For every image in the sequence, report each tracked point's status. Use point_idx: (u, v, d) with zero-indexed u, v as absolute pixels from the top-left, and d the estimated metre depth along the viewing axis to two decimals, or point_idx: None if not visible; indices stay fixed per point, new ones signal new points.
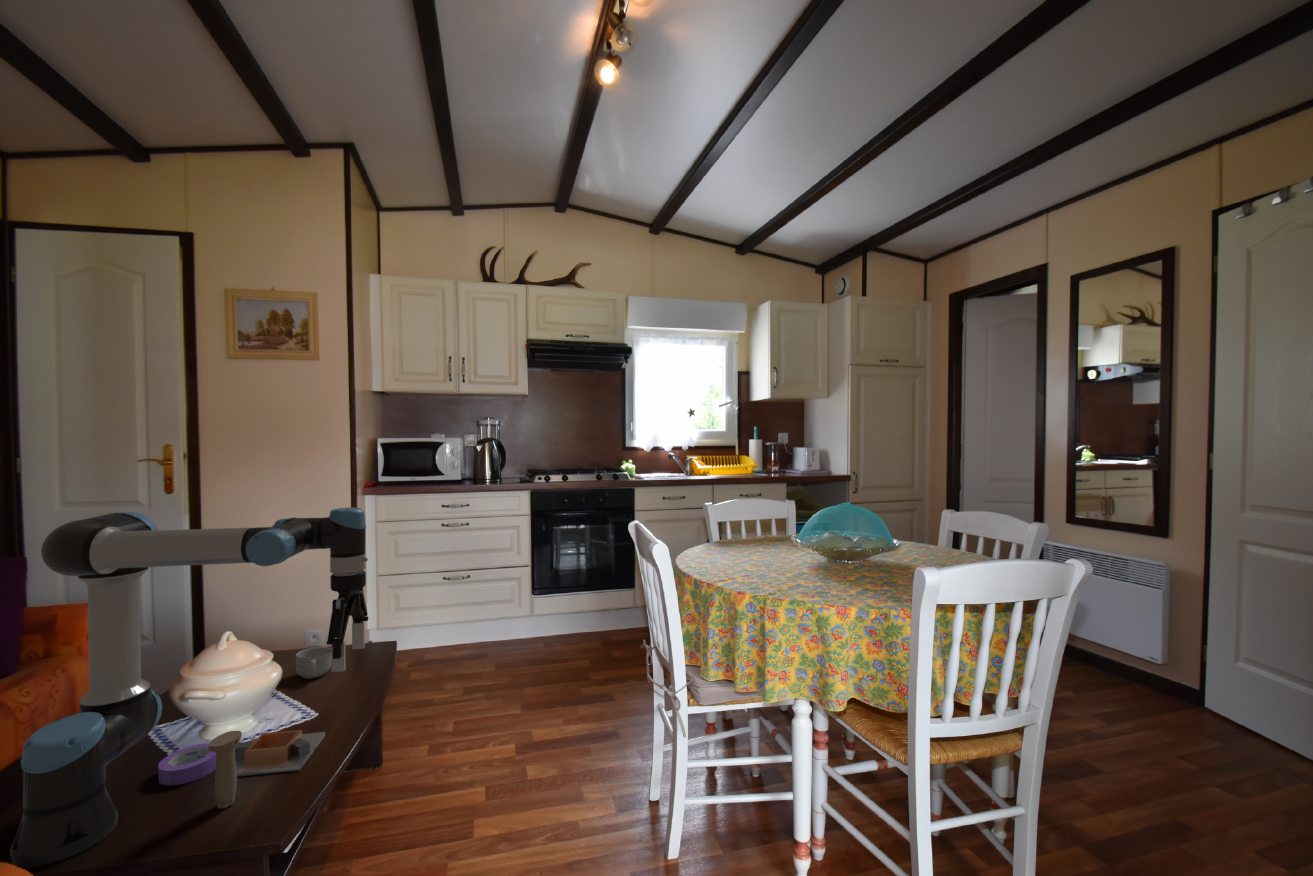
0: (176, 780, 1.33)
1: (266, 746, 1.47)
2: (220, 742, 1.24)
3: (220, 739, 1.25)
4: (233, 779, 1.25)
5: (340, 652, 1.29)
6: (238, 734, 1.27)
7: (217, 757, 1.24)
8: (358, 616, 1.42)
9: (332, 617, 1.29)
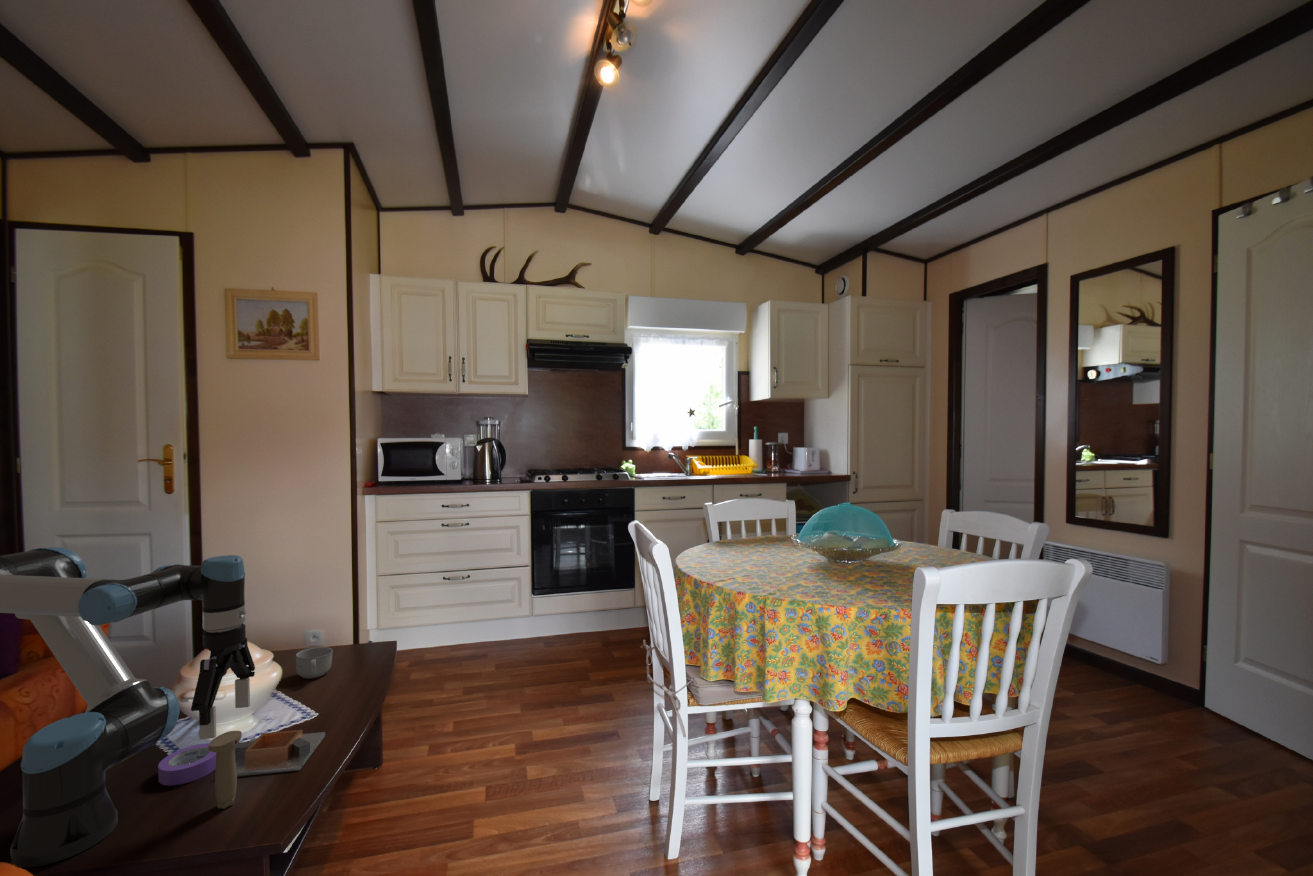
0: (176, 780, 1.33)
1: (266, 746, 1.47)
2: (220, 742, 1.24)
3: (220, 739, 1.25)
4: (233, 779, 1.25)
5: (209, 718, 1.18)
6: (238, 734, 1.27)
7: (217, 757, 1.24)
8: (241, 672, 1.31)
9: (199, 680, 1.17)
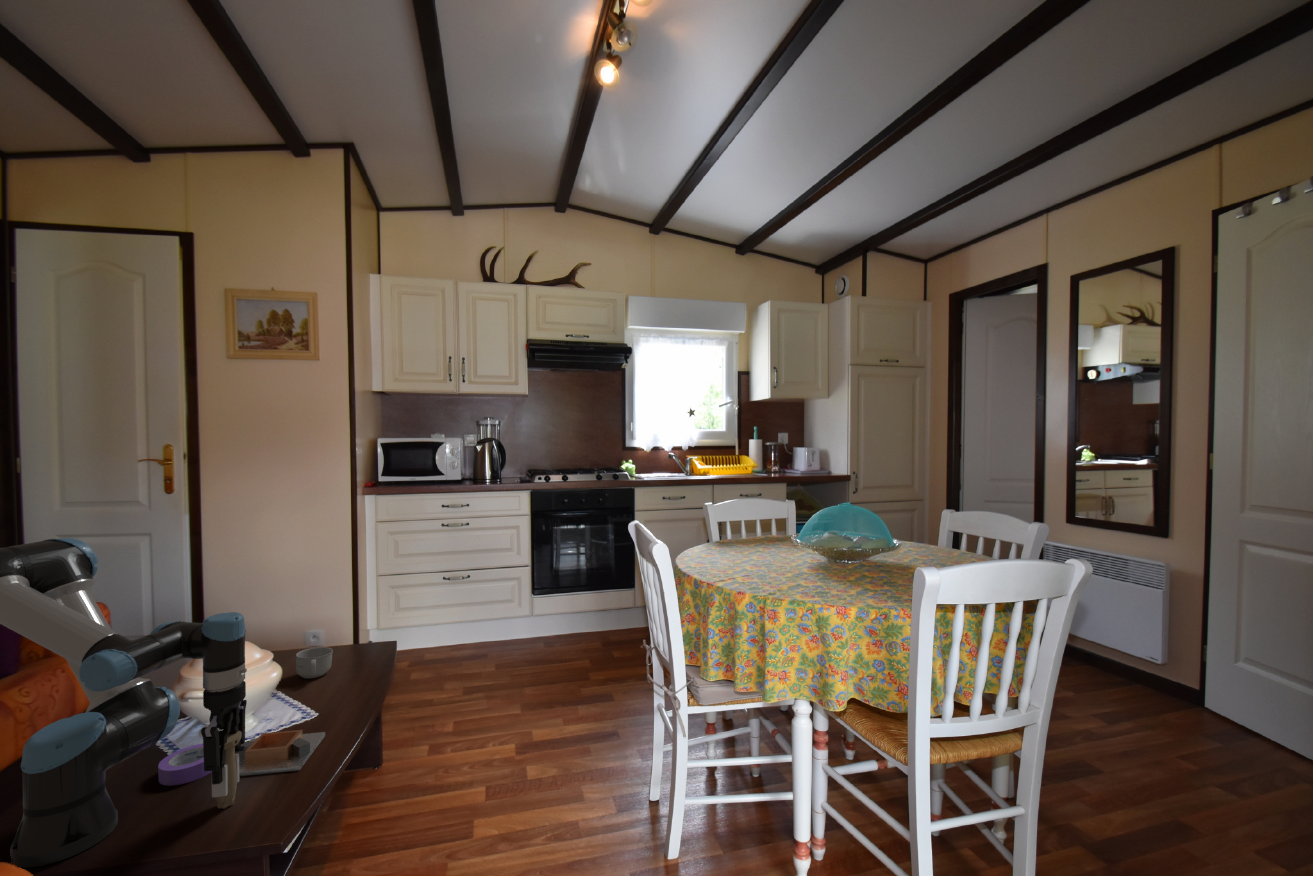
0: (176, 780, 1.33)
1: (266, 746, 1.47)
2: None
3: None
4: (233, 779, 1.25)
5: (221, 776, 1.23)
6: (238, 734, 1.27)
7: None
8: None
9: (204, 746, 1.19)
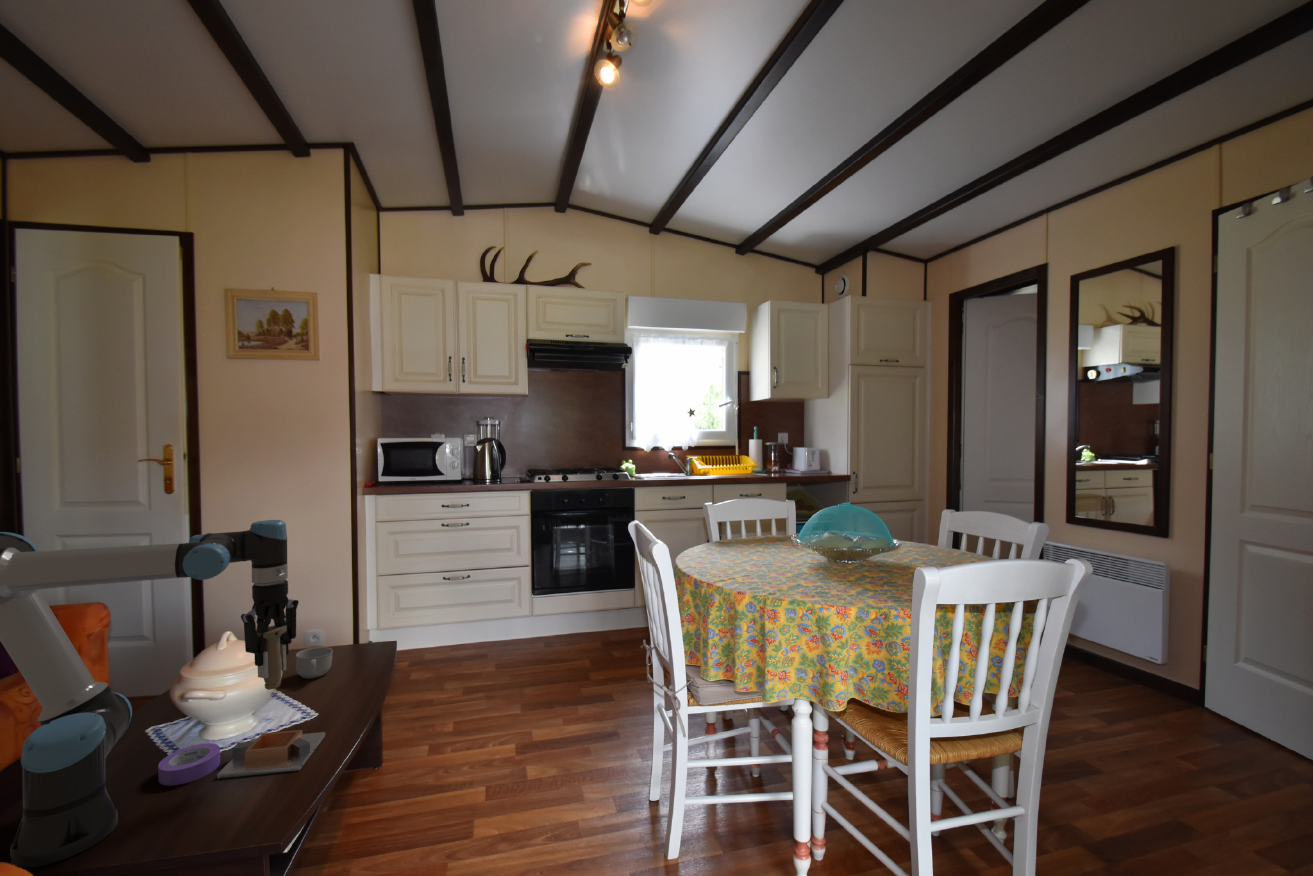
0: (176, 780, 1.33)
1: (266, 746, 1.47)
2: None
3: (268, 629, 1.42)
4: (275, 666, 1.42)
5: (262, 660, 1.40)
6: (282, 628, 1.43)
7: None
8: None
9: (245, 630, 1.37)
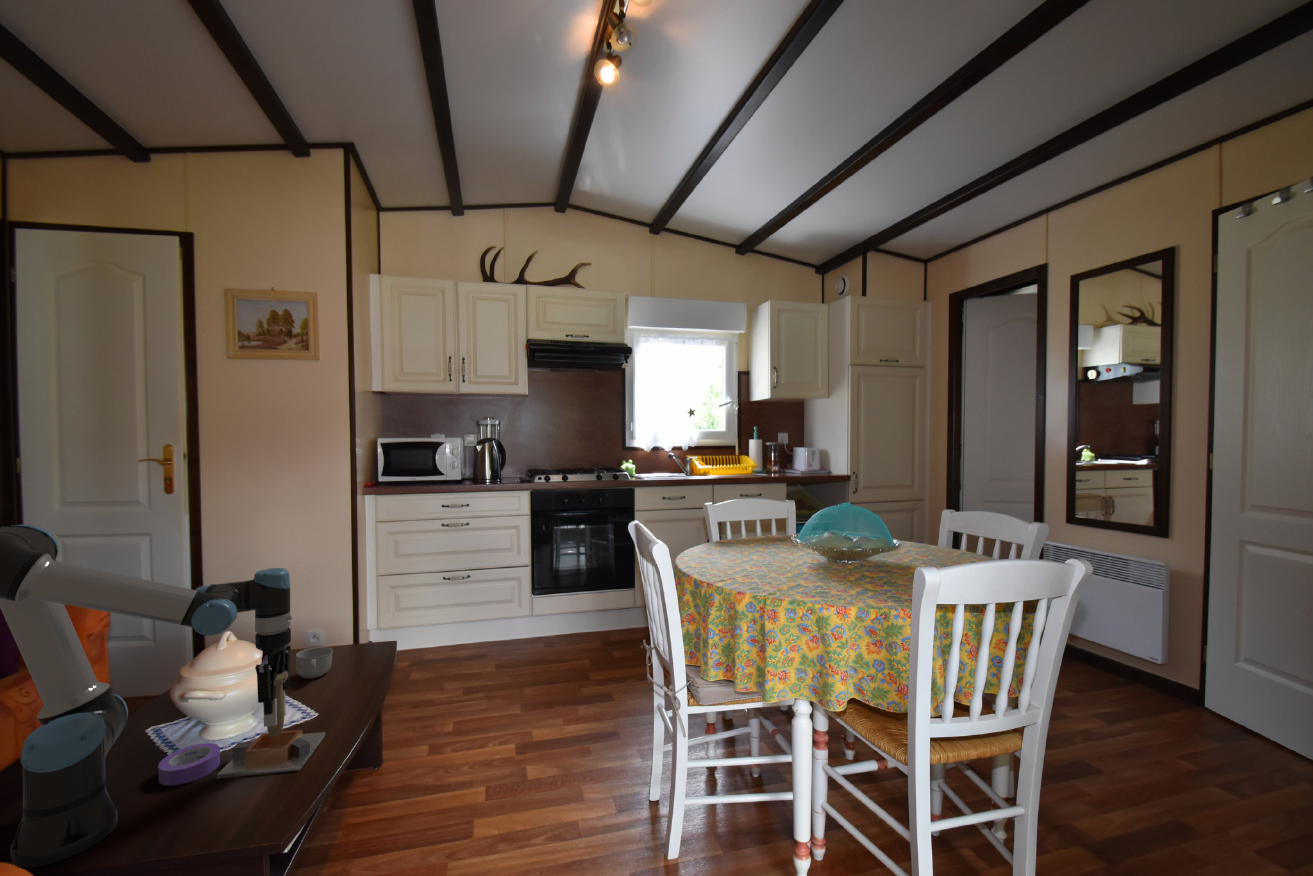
0: (176, 780, 1.33)
1: (266, 746, 1.47)
2: None
3: None
4: (282, 711, 1.44)
5: (272, 708, 1.42)
6: (285, 673, 1.46)
7: None
8: None
9: (258, 680, 1.38)
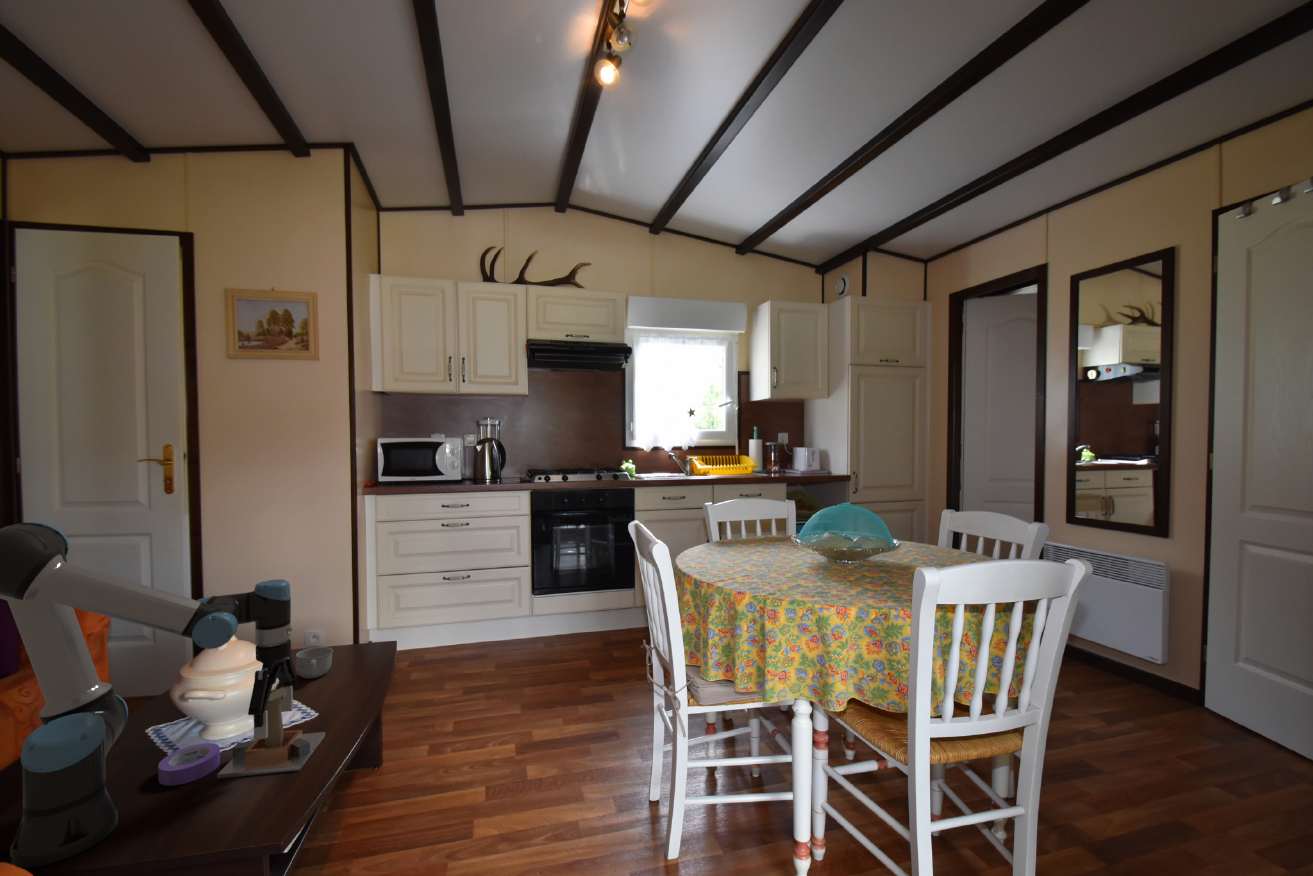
0: (176, 780, 1.33)
1: None
2: None
3: None
4: (280, 730, 1.44)
5: (262, 721, 1.37)
6: (283, 691, 1.45)
7: None
8: (286, 681, 1.50)
9: (254, 688, 1.36)
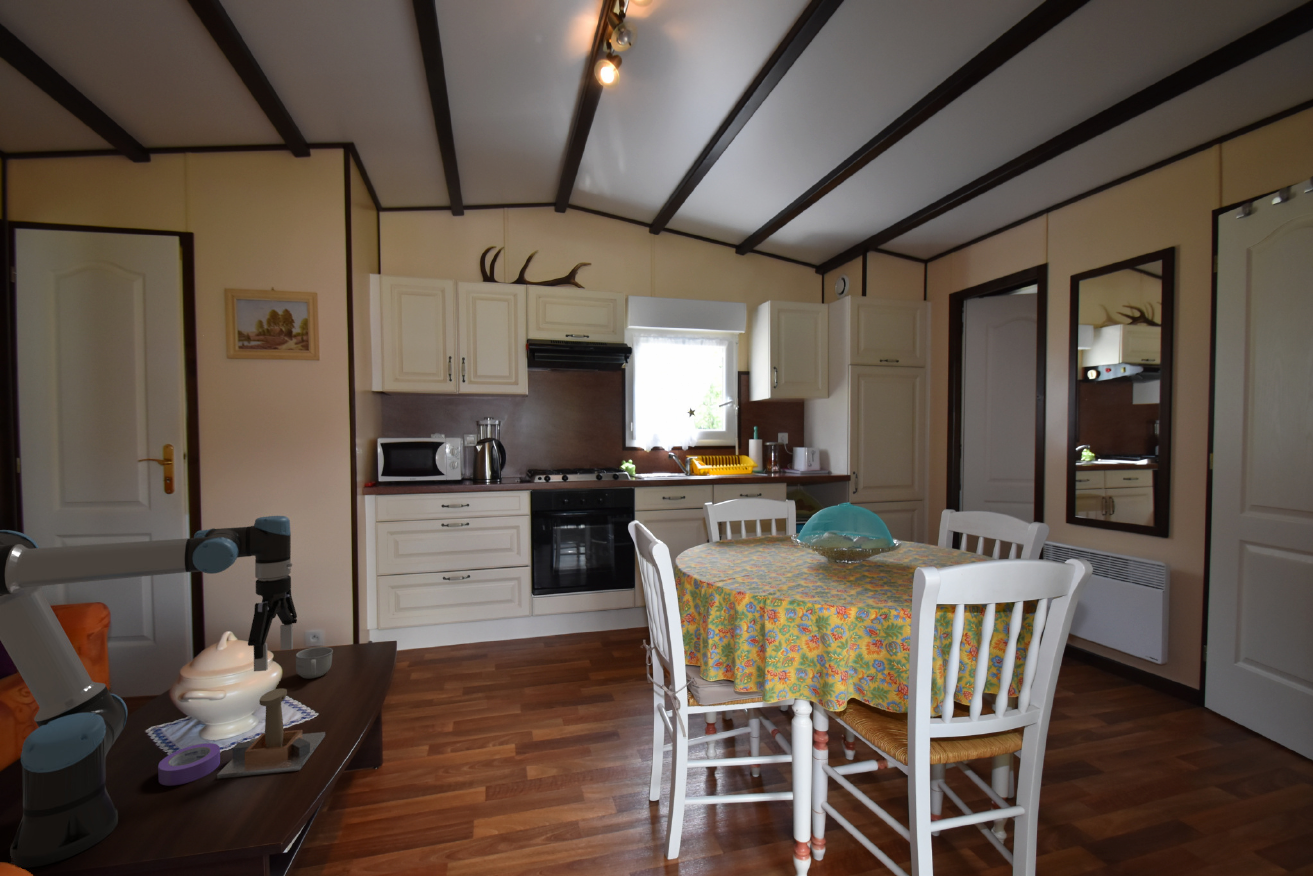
0: (176, 780, 1.33)
1: None
2: (269, 697, 1.42)
3: (269, 695, 1.43)
4: (281, 729, 1.44)
5: (262, 653, 1.37)
6: (284, 691, 1.45)
7: (267, 710, 1.42)
8: (286, 618, 1.50)
9: (254, 620, 1.36)
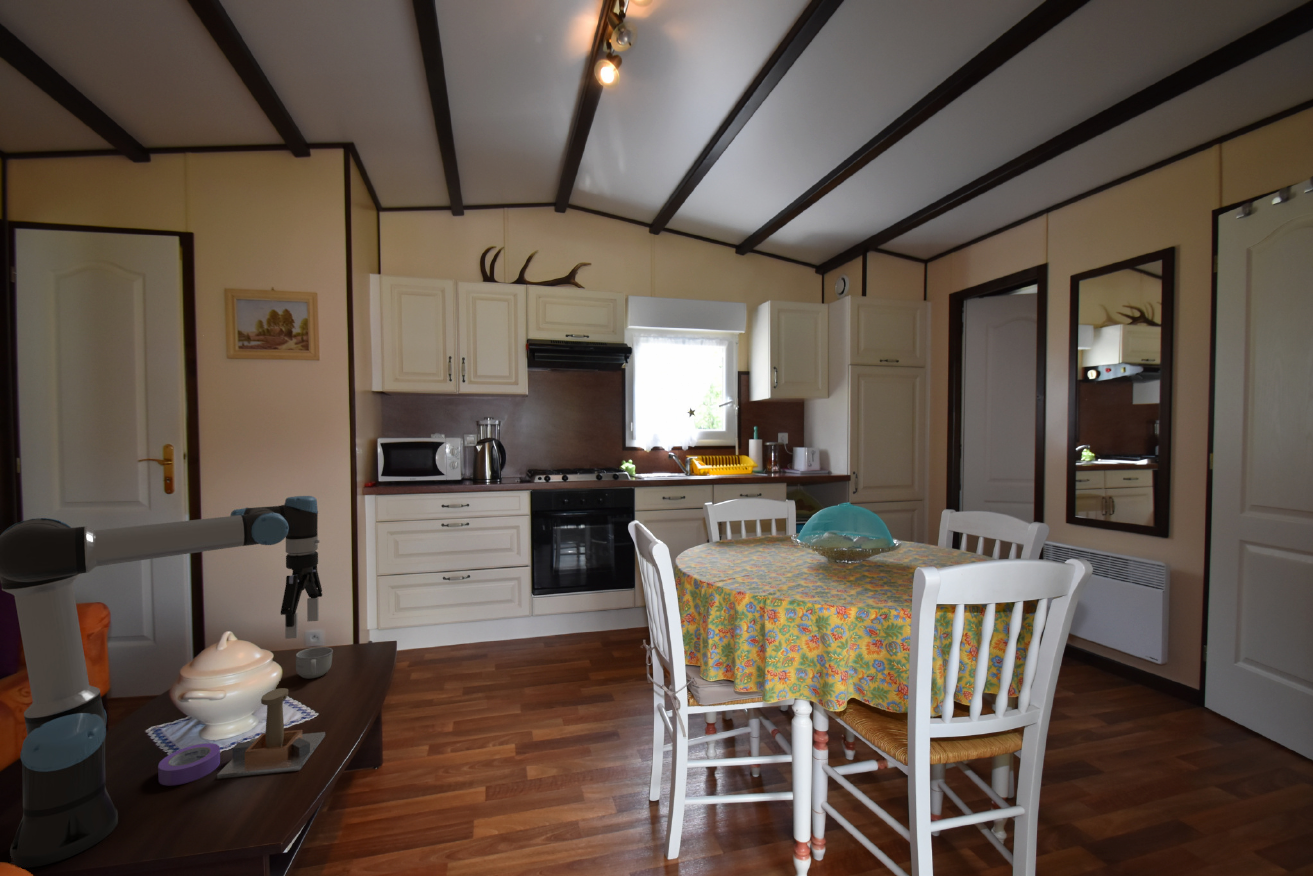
0: (176, 780, 1.33)
1: (266, 746, 1.47)
2: (271, 697, 1.43)
3: (270, 695, 1.44)
4: (281, 729, 1.44)
5: (293, 621, 1.48)
6: (285, 691, 1.46)
7: (268, 710, 1.43)
8: (312, 592, 1.61)
9: (285, 591, 1.47)
